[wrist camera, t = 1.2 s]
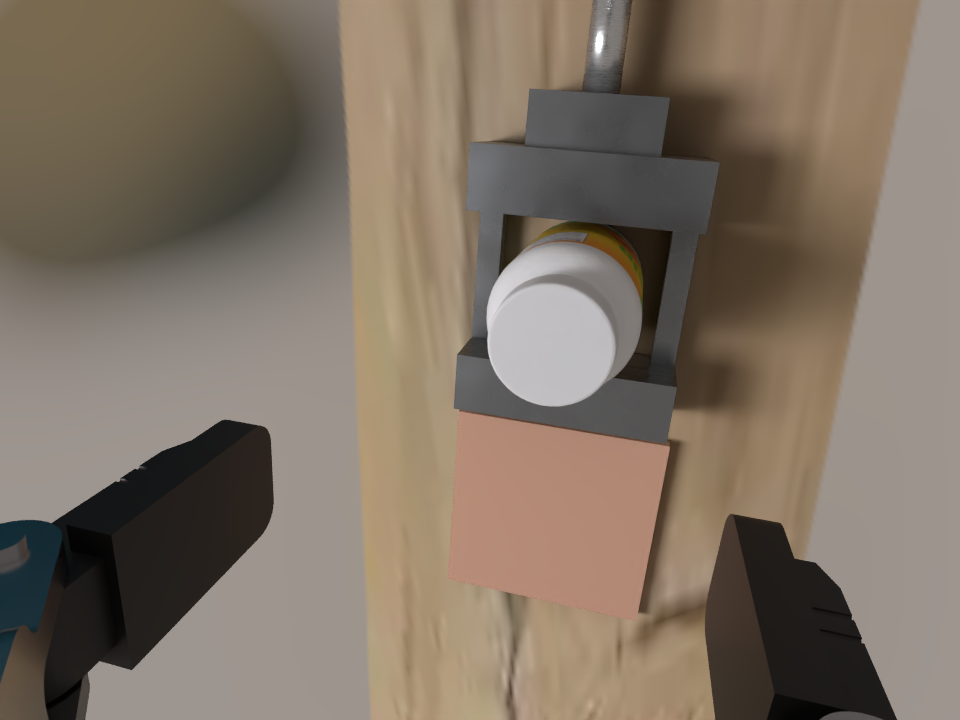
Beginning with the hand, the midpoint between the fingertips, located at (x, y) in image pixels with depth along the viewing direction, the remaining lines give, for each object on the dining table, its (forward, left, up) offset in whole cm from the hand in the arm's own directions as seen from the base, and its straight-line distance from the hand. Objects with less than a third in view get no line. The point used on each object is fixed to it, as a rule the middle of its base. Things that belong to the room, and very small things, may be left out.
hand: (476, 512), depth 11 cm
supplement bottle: (0, 0, -19) cm, 19 cm away
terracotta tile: (+12, 0, -19) cm, 22 cm away
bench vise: (-3, 0, -19) cm, 19 cm away
